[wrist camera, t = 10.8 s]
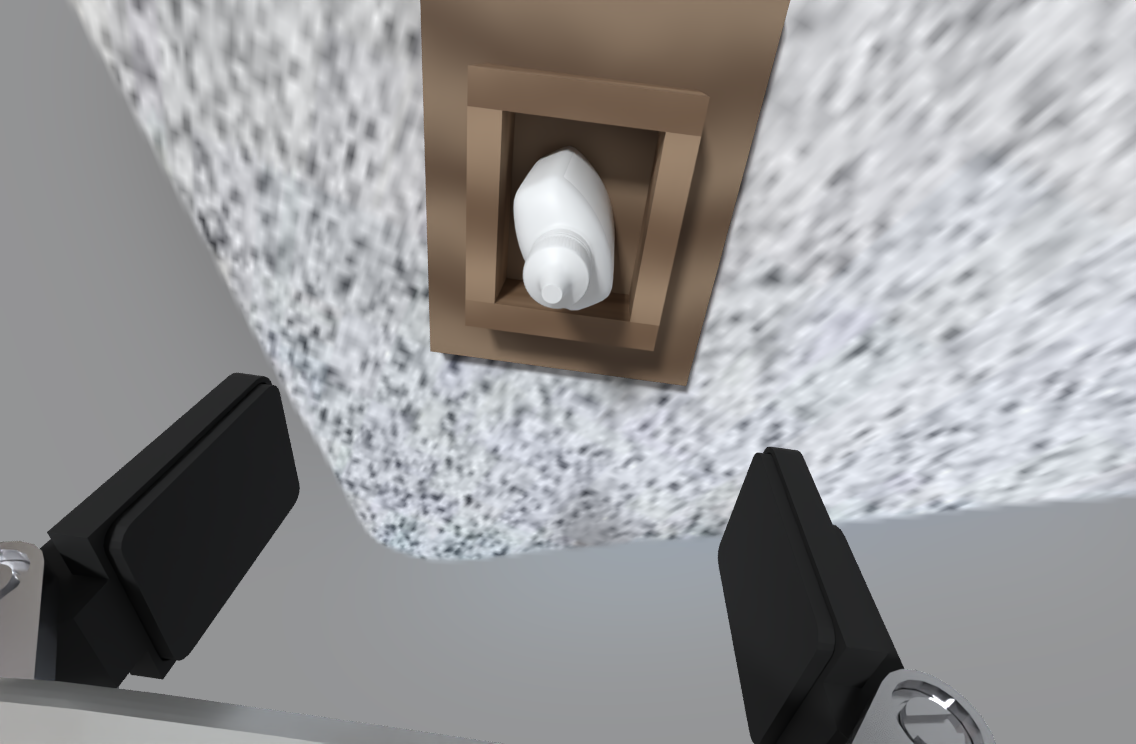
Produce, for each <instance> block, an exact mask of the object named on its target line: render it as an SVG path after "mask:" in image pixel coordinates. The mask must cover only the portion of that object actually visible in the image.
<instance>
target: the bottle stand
mask: <svg viewBox="0 0 1136 744" xmlns="http://www.w3.org/2000/svg"><path fill="white" fill-rule="evenodd" d="M420 3H421V37H422V72H423V106H424V141H425V175H426V210H427V245H428V279H429V314H430V348H431V351H433V352H440V353H447V354H455V355H462V356H469V357H477V358H484V359H491V360H499V361H506V362H513V363H521V364H528V365H535V366H543V367H550V368H558V369H565V370H572V371H580V372H587V373H594V374H602V375H609V376H616V377H624V378H631V379H638V380H646V381H653V382H660V383H668V384H675V385H683V386H686V385H687V381H688V377H689V373H690V370H691V366H692V362H693V359H694V355H695V351H696V348H697V344H698V340H699V336H700V333H701V329H702V325H703V322H704V318H705V314H706V311H707V307H708V303H709V299H710V296H711V292H712V288H713V285H714V281H715V277H716V273H717V270H718V266H719V262H720V259H721V255H722V251H723V248H724V244H725V240H726V236H727V233H728V229H729V225H730V222H731V218H732V214H733V210H734V207H735V203H736V199H737V196H738V192H739V188H740V185H741V181H742V177H743V173H744V170H745V166H746V162H747V159H748V155H749V151H750V147H751V144H752V140H753V136H754V133H755V129H756V125H757V122H758V118H759V114H760V110H761V107H762V103H763V99H764V96H765V92H766V88H767V84H768V81H769V77H770V73H771V70H772V66H773V62H774V59H775V55H776V51H777V47H778V44H779V40H780V36H781V33H782V29H783V25H784V21H785V18H786V14H787V10H788V7H789V3H790V0H420ZM566 146H571V147H574V148H576V149H577V150H578V151H579V152H581V153H582V154H583V156H584V157H585V158H586V159H587V160H588V161H589V162H590V163H591V165H592V166H593V167H594V169H595V170H596V172H597V173H598V175H599V177H600V178H601V180H602V182H603V184H604V186H605V188H606V191H607V193H608V196H609V199H610V202H611V206H612V211H613V217H614V228H615V241H614V273H613V285H612V289H611V292H610V294H609V296H608V297H607V298H605V299H604V300H603V301H601V302H599V303H596V304H594V305H591V306H589V307H586V308H583V309H580V310H569V309H566V308H562V309H560V308H559V309H557V308H555V309H554V308H550V307H546V306H544V305H541V304H539V303H538V302H536V301H535V300H534V299H533V297H530V296H531V295H529V294H528V293H529V292H527V289H526V288H525V287H526V286H525V285H524V282H523V280H524V279H523V269H524V264H525V260H524V258H523V255H522V253H521V250H520V247H519V243H518V239H517V235H516V230H515V222H514V199H515V195H516V192H517V191H518V189H519V187H520V185H521V184H522V182H523V181H524V179H525V178H526V176H527V175H528V173H529V172H530V170H531V169H532V168H533V166H534V165H535V163H536V162H537V161H538V160H539V159H540V158H542V157H544V156H546V155H548V154H550V153H552V152H554V151H556V150H558V149H560V148H563V147H566Z"/></svg>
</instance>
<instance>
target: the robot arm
mask: <svg viewBox="0 0 1136 744" xmlns="http://www.w3.org/2000/svg"><path fill="white" fill-rule="evenodd" d="M299 489H300V487H299V481H298V476H297V472H296V467H295V462H294V457H293V453H292V448H291V443H290V439H289V434H288V429H287V424H286V420H285V415H284V410H283V405H282V401H281V397H280V392H279V389H278V388H277V387H276V386H274V385H272V383H271V381H270V380H269V378H267V377H264V376H257V375H250V374H243V373H233V374H232V375H230V376H228V377H227V378H226V379H225V380H224V381H222V382H221V383H220V384H219V385H218V386H217V387H216V388H214V389H213V390H212V391H211V392H210V393H209V394H207V395H206V396H205V397H204V398H203V399H202V400H200V401H199V402H198V403H197V404H196V405H195V406H193V407H192V408H191V409H190V410H189V411H188V412H187V413H185V414H184V415H183V416H182V417H181V418H179V419H178V420H177V421H176V422H175V423H174V424H173V425H172V426H170V427H169V428H168V429H167V430H165V431H164V432H163V433H162V434H161V435H160V436H158V437H157V438H156V439H155V440H154V441H153V442H151V443H150V444H149V445H148V446H147V447H146V448H145V449H143V451H141V452H140V453H139V454H138V455H136V456H135V457H134V458H133V459H132V460H131V461H129V462H128V463H127V464H126V465H125V466H124V467H122V468H121V469H120V470H119V471H118V472H117V473H115V474H114V475H113V476H112V477H111V478H110V479H108V480H107V481H106V482H105V483H104V484H103V485H101V486H100V487H99V488H98V489H97V490H96V491H95V492H93V493H92V494H91V495H90V496H89V497H88V498H86V499H85V500H84V501H83V502H82V503H81V504H80V505H78V506H77V507H76V508H75V509H74V510H72V511H71V512H70V513H69V514H68V515H67V516H66V517H64V518H63V519H62V520H61V521H60V522H59V523H57V524H56V525H55V526H54V527H53V528H51V529H50V530H49V531H48V532H47V533H48V534H49V536H50V538H51V540H49V541H48V542H47V543H46V544H45V545H44V546H42V547H41V548H40V549H39V548H38V547H37V546H35V545H34V544H31V543H27V542H22V541H8V542H0V744H503V743H495V742H489V741H482V740H476V739H468V738H462V737H455V736H449V735H442V734H435V733H428V732H422V731H415V730H408V729H401V728H395V727H388V726H381V725H374V724H367V723H360V722H353V721H346V720H340V719H333V718H326V717H319V716H313V715H306V714H299V713H291V712H283V711H277V710H270V709H263V708H256V707H249V706H242V705H235V704H228V703H220V702H214V701H206V700H200V699H193V698H186V697H178V696H172V695H165V694H157V693H149V692H141V691H133V690H125V689H119V685H120V684H121V682H122V681H123V680H124V679H125V677H126V676H127V674H129V672H130V674H131V675H137V676H144V677H151V678H158V679H164V677H165V676H166V674H167V673H168V672H169V670H170V669H171V667H172V666H173V665H174V663H175V662H176V660H182V659H184V658H185V657H186V656H188V655H189V653H190V652H191V651H192V650H193V648H194V647H195V645H196V644H197V643H198V641H199V640H200V638H201V637H202V635H203V634H204V633H205V631H206V630H207V628H208V627H209V625H210V624H211V623H212V621H213V620H214V618H215V617H216V616H217V614H218V613H219V611H220V610H221V608H222V607H223V606H224V604H225V603H226V601H227V600H228V598H229V597H230V596H231V594H232V593H233V591H234V590H235V588H236V587H237V586H238V584H239V583H240V581H241V580H242V578H243V577H244V575H245V574H246V573H247V571H248V570H249V569H250V567H251V566H252V564H253V563H254V561H255V560H256V558H257V557H258V556H259V554H260V553H261V551H262V550H263V548H264V547H265V546H266V544H267V543H268V541H269V540H270V539H271V537H272V535H273V534H274V533H275V531H276V530H277V529H278V527H279V526H280V524H281V523H282V521H283V520H284V519H285V517H286V516H287V514H288V513H289V511H290V510H291V509H292V507H293V506H294V504H295V503H296V501H297V498H298V495H299ZM718 564H719V570H720V575H721V581H722V586H723V592H724V597H725V603H726V608H727V613H728V619H729V624H730V629H731V634H732V640H733V646H734V651H735V656H736V662H737V667H738V673H739V678H740V683H741V689H742V694H743V700H744V705H745V711H746V716H747V721H748V727H749V732H750V736H751V739H752V741H753V743H754V744H996V743H995V740H994V737H993V734H992V733H991V731H990V729H989V728H988V726H987V724H986V723H985V721H984V719H983V718H982V716H981V715H980V714H979V713H978V711H977V710H976V709H975V708H974V707H973V706H972V705H971V703H970V702H969V701H968V700H967V699H966V698H964V697H963V696H962V695H961V694H960V693H958V692H957V691H956V690H955V689H954V688H953V687H951V686H950V685H948V684H946V683H945V682H943V681H941V680H940V679H938V678H936V677H934V676H932V675H930V674H927V673H923V672H921V671H918V670H908V669H904V667H903V665H902V663H901V660H900V658H899V656H898V654H897V651H896V649H895V647H894V645H893V642H892V640H891V638H890V636H889V634H888V631H887V629H886V627H885V625H884V622H883V620H882V618H881V616H880V614H879V611H878V609H877V607H876V605H875V602H874V600H873V598H872V596H871V593H870V591H869V589H868V587H867V585H866V582H865V580H864V578H863V576H862V574H861V571H860V569H859V567H858V565H857V562H856V560H855V558H854V556H853V553H852V551H851V549H850V547H849V545H848V542H847V540H846V538H845V536H844V534H843V533H842V531H841V529H839V528H838V527H837V526H836V525H833V524H832V522H831V520H830V518H829V515H828V513H827V511H826V508H825V506H824V504H823V501H822V499H821V497H820V495H819V492H818V490H817V488H816V485H815V483H814V481H813V478H812V476H811V474H810V472H809V469H808V467H807V465H806V462H805V460H804V458H803V456H802V454H801V452H799V451H798V450H791V449H783V448H776V447H767V448H766V449H765V450H764V452H763V453H756V454H755V455H754V457H753V459H752V462H751V464H750V467H749V470H748V472H747V475H746V477H745V480H744V483H743V485H742V488H741V490H740V493H739V496H738V498H737V501H736V503H735V506H734V509H733V511H732V514H731V517H730V519H729V522H728V524H727V527H726V530H725V532H724V535H723V537H722V540H721V543H720V546H719V550H718Z"/></svg>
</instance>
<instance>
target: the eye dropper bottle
mask: <svg viewBox="0 0 1136 744" xmlns="http://www.w3.org/2000/svg"><path fill="white" fill-rule="evenodd" d="M514 222H515V230H516V235H517V239H518V243H519V247H520V250H521V253H522V255H523V258H524V260H525V264H524V269H523V279H524V280H523V282H524V285H525V286H526V287H525V288H526V289H527V292H529V293H528V294H529V295H531V296H530V297H533V299H534V300H535V301H536V302H538V303H539V304H541V305H544V306H546V307H550V308H554V309H555V308H557V309H559V308H560V309H562V308H566V309H569V310H580V309H583V308H586V307H589V306H591V305H594V304H596V303H599V302H601V301H603V300H604V299H605V298H607V297H608V296H609V294H610V292H611V289H612V285H613V273H614V241H615V228H614V217H613V211H612V206H611V202H610V199H609V196H608V193H607V191H606V188H605V186H604V184H603V182H602V180H601V178H600V177H599V175H598V173H597V172H596V170H595V169H594V167H593V166H592V165H591V163H590V162H589V161H588V160H587V159H586V158H585V157H584V156H583V154H582V153H581V152H579V151H578V150H577V149H576V148H574V147H571V146H566V147H563V148H560V149H558V150H556V151H554V152H552V153H550V154H548V155H546V156H544V157H542V158H540V159H539V160H538V161H537V162H536V163H535V165H534V166H533V168H532V169H531V170H530V172H529V173H528V175H527V176H526V178H525V179H524V181H523V182H522V184H521V185H520V187H519V189H518V191H517V192H516V195H515V199H514Z"/></svg>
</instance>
